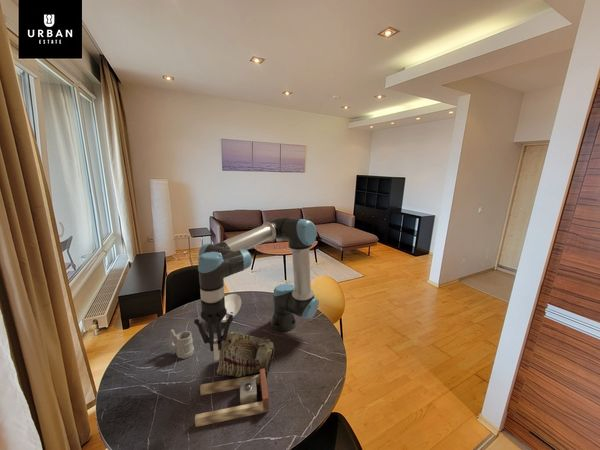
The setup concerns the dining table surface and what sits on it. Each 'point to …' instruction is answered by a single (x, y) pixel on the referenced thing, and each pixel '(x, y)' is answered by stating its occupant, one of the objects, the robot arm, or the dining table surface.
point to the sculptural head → (244, 355)
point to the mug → (182, 344)
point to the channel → (238, 410)
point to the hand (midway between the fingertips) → (216, 357)
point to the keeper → (248, 392)
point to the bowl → (232, 304)
